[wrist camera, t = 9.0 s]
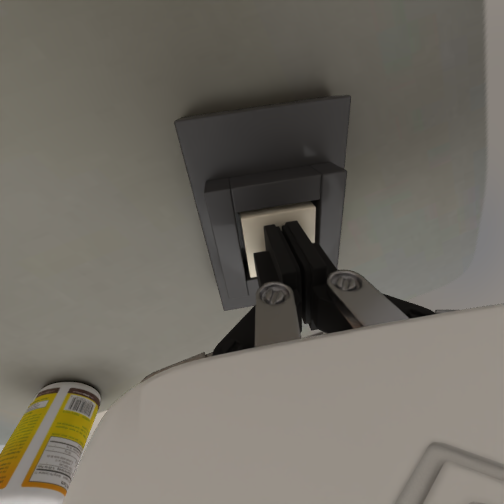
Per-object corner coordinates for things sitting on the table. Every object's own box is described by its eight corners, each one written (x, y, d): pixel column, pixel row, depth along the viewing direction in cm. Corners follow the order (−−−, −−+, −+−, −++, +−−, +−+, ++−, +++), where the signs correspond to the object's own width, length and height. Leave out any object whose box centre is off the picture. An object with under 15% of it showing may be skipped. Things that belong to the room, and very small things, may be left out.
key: (238, 205, 12) (240, 219, 11) (304, 194, 13) (316, 206, 11) (247, 260, 14) (250, 278, 13) (304, 250, 15) (314, 267, 13)
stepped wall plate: (180, 117, 12) (165, 124, 9) (332, 95, 12) (374, 94, 9) (223, 290, 19) (224, 332, 15) (322, 273, 19) (344, 310, 16)
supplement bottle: (40, 406, 24) (-58, 576, 15) (38, 375, 21) (-81, 558, 13) (101, 409, 26) (43, 564, 17) (106, 381, 23) (41, 547, 15)
